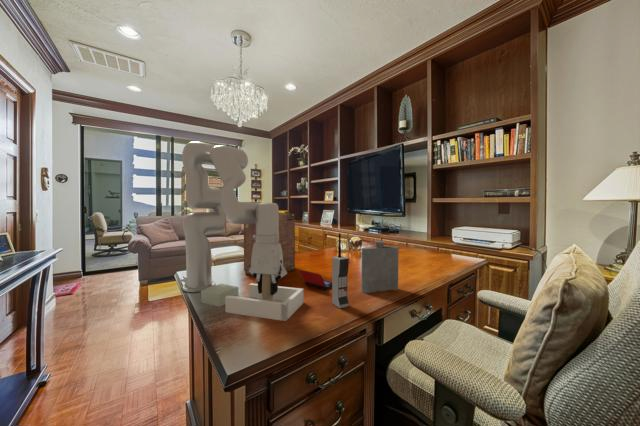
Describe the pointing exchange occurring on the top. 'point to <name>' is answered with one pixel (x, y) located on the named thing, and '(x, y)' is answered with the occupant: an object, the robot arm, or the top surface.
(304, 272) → the handheld game console
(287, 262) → the book
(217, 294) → the sage block
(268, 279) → the handle
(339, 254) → the grey brick cell phone
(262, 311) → the cubby
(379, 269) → the hip flask
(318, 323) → the top surface
